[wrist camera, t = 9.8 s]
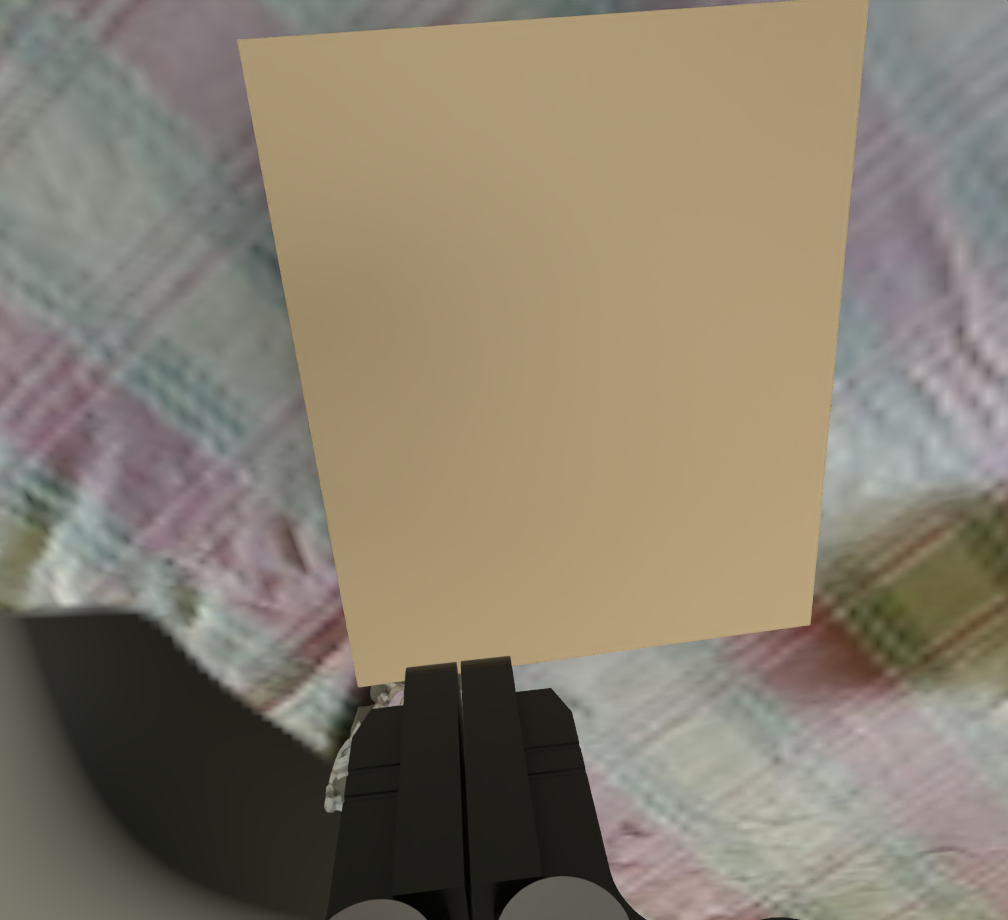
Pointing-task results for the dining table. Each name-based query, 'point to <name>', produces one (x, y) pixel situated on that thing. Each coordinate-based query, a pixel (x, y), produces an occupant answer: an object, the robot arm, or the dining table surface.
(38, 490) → the dining table surface
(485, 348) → the lid
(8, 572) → the dining table surface
